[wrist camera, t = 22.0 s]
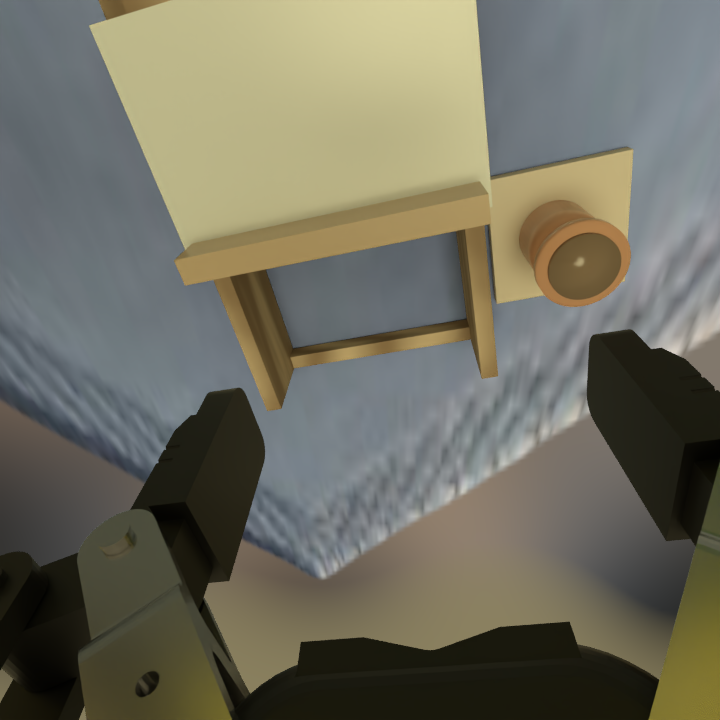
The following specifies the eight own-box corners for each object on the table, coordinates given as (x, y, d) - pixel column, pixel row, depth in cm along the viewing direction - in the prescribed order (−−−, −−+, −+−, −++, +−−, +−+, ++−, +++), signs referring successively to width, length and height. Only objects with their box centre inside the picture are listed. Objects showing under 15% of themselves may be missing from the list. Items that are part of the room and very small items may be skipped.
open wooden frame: (284, 361, 45) (267, 410, 39) (157, 10, 31) (97, -2, 25) (482, 328, 42) (498, 376, 36) (439, -76, 28) (453, -115, 22)
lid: (198, 263, 32) (176, 287, 29) (99, 26, 25) (54, 21, 22) (489, 202, 29) (502, 221, 26) (465, -87, 22) (478, -113, 19)
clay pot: (516, 276, 39) (539, 315, 33) (512, 204, 36) (536, 233, 30) (593, 263, 38) (630, 300, 32) (595, 188, 35) (636, 214, 29)
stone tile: (494, 298, 41) (496, 303, 40) (484, 178, 36) (486, 181, 35) (619, 276, 39) (624, 281, 38) (627, 146, 34) (633, 149, 33)
